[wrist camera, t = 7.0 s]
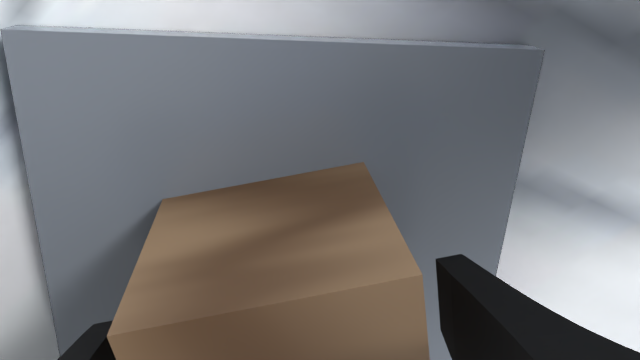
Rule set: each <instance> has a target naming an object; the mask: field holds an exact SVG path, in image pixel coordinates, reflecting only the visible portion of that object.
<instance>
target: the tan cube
mask: <svg viewBox="0 0 640 360" xmlns="http://www.w3.org/2000/svg"><path fill="white" fill-rule="evenodd" d="M107 339H108V341H109V343H110V346H111V348H112V351H113V353H114V356H115V358H116V360H430V356H429V344H428V333H427V321H426V310H425V298H424V287H423V275H422V273H421V271H420V269H419V267H418V265H417V263H416V261H415V259H414V258H413V256H412V254H411V252H410V250H409V248H408V246H407V244H406V242H405V240H404V238H403V236H402V235H401V233H400V231H399V229H398V227H397V225H396V223H395V221H394V219H393V217H392V215H391V213H390V212H389V210H388V208H387V206H386V204H385V202H384V200H383V198H382V196H381V194H380V192H379V190H378V189H377V187H376V185H375V183H374V181H373V179H372V177H371V175H370V173H369V171H368V169H367V167H366V166H365V164H364V162H361V163H355V164H350V165H344V166H339V167H334V168H328V169H323V170H317V171H312V172H307V173H301V174H296V175H291V176H285V177H280V178H274V179H269V180H264V181H258V182H253V183H247V184H242V185H237V186H231V187H226V188H220V189H215V190H210V191H204V192H199V193H194V194H188V195H183V196H177V197H172V198H167V199H163V200H162V202H161V205H160V207H159V209H158V212H157V214H156V217H155V219H154V222H153V224H152V227H151V229H150V231H149V234H148V236H147V239H146V241H145V244H144V246H143V249H142V251H141V253H140V256H139V258H138V261H137V263H136V266H135V268H134V271H133V273H132V275H131V278H130V280H129V283H128V285H127V288H126V290H125V292H124V295H123V297H122V300H121V302H120V305H119V307H118V310H117V312H116V314H115V317H114V319H113V322H112V324H111V327H110V329H109V332H108V334H107Z"/></svg>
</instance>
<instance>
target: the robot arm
mask: <svg viewBox="0 0 640 360" xmlns="http://www.w3.org/2000/svg"><path fill="white" fill-rule="evenodd" d="M436 273H437V287H438V301H439V316H440V330H441V332H442V335H443V338H444V340H445V343H446V346H447V348H448V351H449V353H450V356H451V358H452V360H640V353H639V352H637V351H634V350H632V349H629V348H627V347H625V346H622V345H620V344H618V343H616V342H613V341H611V340H609V339H607V338H605V337H602V336H600V335H598V334H596V333H594V332H591V331H589V330H587V329H585V328H583V327H581V326H579V325H577V324H575V323H573V322H572V321H570V320H568V319H566V318H564V317H562V316H561V315H559V314H557V313H555V312H553V311H551V310H549V309H548V308H546V307H544V306H542V305H541V304H539V303H537V302H536V301H534V300H532V299H531V298H529V297H527V296H526V295H524V294H522V293H521V292H519V291H518V290H516V289H514V288H513V287H511V286H510V285H508V284H507V283H505V282H503V281H502V280H500V279H499V278H497V277H496V276H494V275H493V274H491V273H490V272H488V271H487V270H485V269H484V268H482V267H481V266H479V265H478V264H476V263H475V262H473V261H472V260H470V259H469V258H467V257H466V256H464V255H463V254H458V255H453V256H448V257H442V258H437V259H436ZM112 322H113V321H107V322H102V323H97V324H93V325H92V326H91V327H90V328H89V329H88V330H86V331H85V332H84V333H83V334H82V335H81V336H80V337H79V338H78V339H77V340H76V341H75V342H74V343H73V344H72V345H71V346H70V347H69V348H68V349H67V350H66V351H65V353H64V354H63V355H62V356H61V357H60V358H59V359H58V360H116V358H115V356H114V353H113V351H112V348H111V346H110V343H109V341H108V339H107V334H108V332H109V329H110V327H111V324H112Z"/></svg>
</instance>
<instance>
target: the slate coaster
mask: <svg viewBox="0 0 640 360" xmlns="http://www.w3.org/2000/svg"><path fill="white" fill-rule="evenodd" d="M0 30H1V35H2V41H3V46H4V52H5V57H6V63H7V68H8V74H9V79H10V85H11V90H12V96H13V101H14V107H15V112H16V117H17V123H18V128H19V134H20V139H21V145H22V150H23V156H24V161H25V167H26V172H27V178H28V183H29V189H30V194H31V200H32V205H33V210H34V216H35V221H36V227H37V232H38V238H39V243H40V249H41V254H42V260H43V265H44V271H45V276H46V282H47V287H48V293H49V298H50V304H51V309H52V314H53V320H54V325H55V331H56V336H57V342H58V347H59V353H60V357H61V356H62V355H63V354H64V353H65V351H66V350H67V349H68V348H69V347H70V346H71V345H72V344H73V343H74V342H75V341H76V340H77V339H78V338H79V337H80V336H81V335H82V334H83V333H84V332H85V331H86V330H88V329H89V328H90V327H91V326H92V325H93V324H97V323H102V322H107V321H113V319H114V317H115V314H116V312H117V310H118V307H119V305H120V302H121V300H122V297H123V295H124V292H125V290H126V288H127V285H128V283H129V280H130V278H131V275H132V273H133V271H134V268H135V266H136V263H137V261H138V258H139V256H140V253H141V251H142V249H143V246H144V244H145V241H146V239H147V236H148V234H149V231H150V229H151V227H152V224H153V222H154V219H155V217H156V214H157V212H158V209H159V207H160V205H161V202H162V200H163V199H167V198H172V197H177V196H183V195H188V194H194V193H199V192H204V191H210V190H215V189H220V188H226V187H231V186H237V185H242V184H247V183H253V182H258V181H264V180H269V179H274V178H280V177H285V176H291V175H296V174H301V173H307V172H312V171H317V170H323V169H328V168H334V167H339V166H344V165H350V164H355V163H361V162H364V164H365V166H366V167H367V169H368V171H369V173H370V175H371V177H372V179H373V181H374V183H375V185H376V187H377V189H378V190H379V192H380V194H381V196H382V198H383V200H384V202H385V204H386V206H387V208H388V210H389V212H390V213H391V215H392V217H393V219H394V221H395V223H396V225H397V227H398V229H399V231H400V233H401V235H402V236H403V238H404V240H405V242H406V244H407V246H408V248H409V250H410V252H411V254H412V256H413V258H414V259H415V261H416V263H417V265H418V267H419V269H420V271H421V273H422V275H423V287H424V298H425V310H426V321H427V333H428V344H429V356H430V360H452V358H451V356H450V353H449V351H448V348H447V346H446V343H445V340H444V338H443V335H442V332H441V330H440V316H439V301H438V287H437V273H436V259H437V258H442V257H448V256H453V255H458V254H463V255H464V256H466V257H467V258H469V259H470V260H472V261H473V262H475V263H476V264H478V265H479V266H481V267H482V268H484V269H485V270H487V271H488V272H490V273H491V274H493V275H494V276H496V272H497V268H498V263H499V259H500V254H501V249H502V245H503V240H504V235H505V231H506V226H507V222H508V217H509V212H510V208H511V203H512V198H513V194H514V189H515V185H516V180H517V175H518V171H519V166H520V161H521V157H522V152H523V148H524V143H525V138H526V134H527V129H528V124H529V120H530V115H531V111H532V106H533V101H534V97H535V92H536V87H537V83H538V78H539V74H540V69H541V64H542V60H543V55H544V50H543V49H540V48H537V47H533V46H530V45H516V44H491V43H465V42H440V41H414V40H388V39H363V38H337V37H312V36H286V35H260V34H235V33H209V32H184V31H158V30H132V29H107V28H81V27H55V26H30V25H15V26H11V27H7V28H4V29H0Z"/></svg>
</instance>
